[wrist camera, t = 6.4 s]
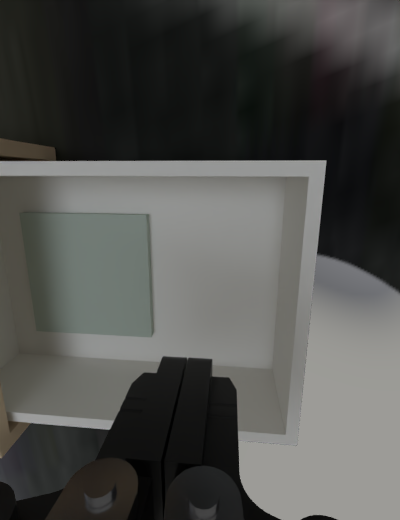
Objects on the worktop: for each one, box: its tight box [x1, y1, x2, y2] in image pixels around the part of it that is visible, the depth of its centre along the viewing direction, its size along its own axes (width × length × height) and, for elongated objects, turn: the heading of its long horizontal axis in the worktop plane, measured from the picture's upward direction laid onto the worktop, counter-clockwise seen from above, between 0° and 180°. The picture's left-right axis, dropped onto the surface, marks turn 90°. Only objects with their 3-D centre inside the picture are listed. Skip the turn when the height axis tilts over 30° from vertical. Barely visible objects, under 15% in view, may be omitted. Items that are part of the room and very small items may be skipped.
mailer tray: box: [0, 161, 326, 446], centre depth 18 cm, size 14×19×6 cm
